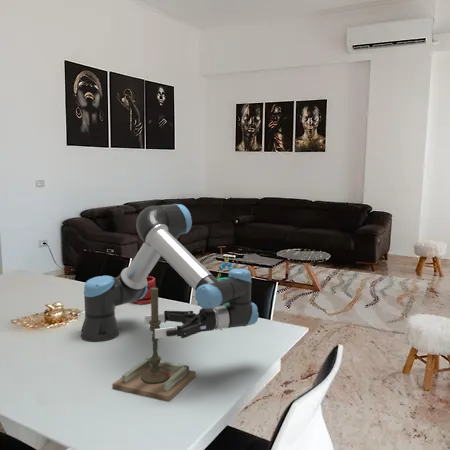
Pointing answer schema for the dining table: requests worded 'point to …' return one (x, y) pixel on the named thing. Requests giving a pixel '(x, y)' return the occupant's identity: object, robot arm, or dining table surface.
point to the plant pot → (148, 295)
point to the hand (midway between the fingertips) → (149, 326)
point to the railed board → (162, 391)
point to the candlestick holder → (155, 346)
